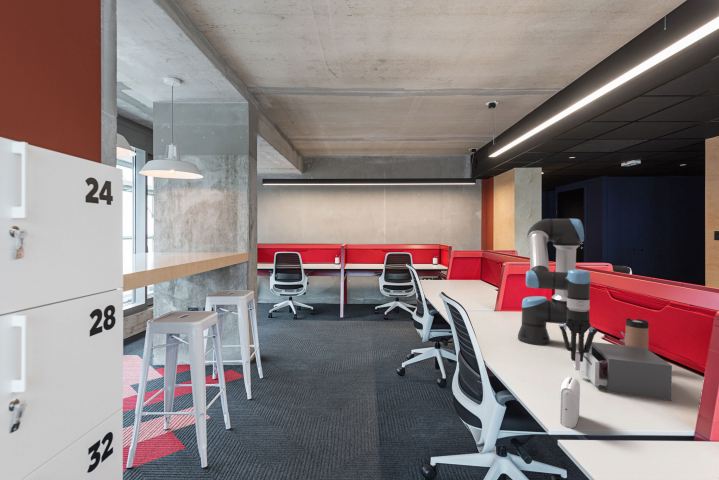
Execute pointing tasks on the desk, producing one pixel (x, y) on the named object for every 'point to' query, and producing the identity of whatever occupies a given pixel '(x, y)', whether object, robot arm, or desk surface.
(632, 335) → the travel mug
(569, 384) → the photo printer
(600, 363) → the video game controller
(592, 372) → the light grey drawer
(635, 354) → the box
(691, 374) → the desk surface
